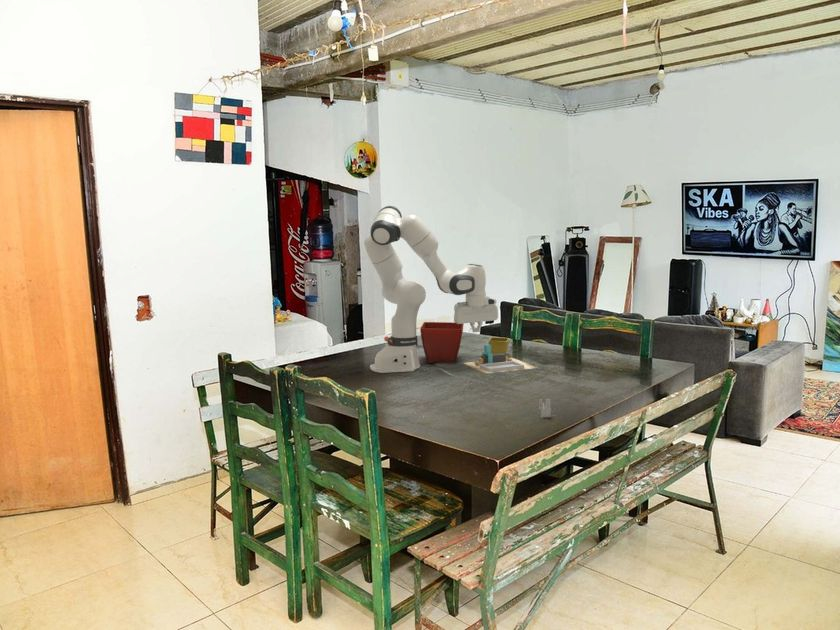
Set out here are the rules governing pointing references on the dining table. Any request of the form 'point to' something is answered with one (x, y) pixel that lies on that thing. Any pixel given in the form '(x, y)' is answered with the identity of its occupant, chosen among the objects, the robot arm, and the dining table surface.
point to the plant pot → (441, 340)
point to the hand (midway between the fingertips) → (476, 332)
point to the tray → (501, 366)
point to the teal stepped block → (488, 353)
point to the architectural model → (545, 411)
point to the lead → (496, 358)
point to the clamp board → (477, 366)
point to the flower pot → (499, 345)
